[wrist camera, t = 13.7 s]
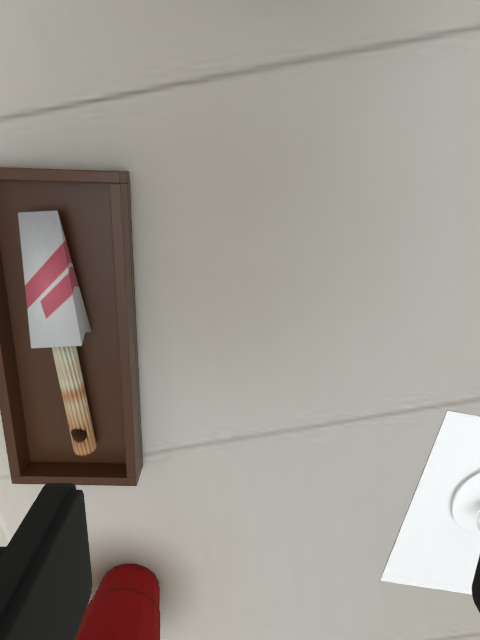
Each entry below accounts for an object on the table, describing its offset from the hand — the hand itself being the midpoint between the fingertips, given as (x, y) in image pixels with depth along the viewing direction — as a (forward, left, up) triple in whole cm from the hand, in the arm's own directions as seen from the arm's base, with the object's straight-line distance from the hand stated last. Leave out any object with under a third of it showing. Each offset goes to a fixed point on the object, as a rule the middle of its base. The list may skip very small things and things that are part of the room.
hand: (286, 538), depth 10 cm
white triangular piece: (+23, +26, -26) cm, 44 cm away
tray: (+5, -14, -26) cm, 30 cm away
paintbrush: (+5, -14, -26) cm, 30 cm away
